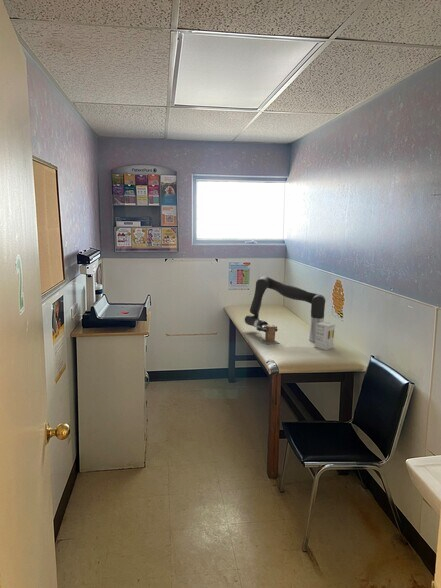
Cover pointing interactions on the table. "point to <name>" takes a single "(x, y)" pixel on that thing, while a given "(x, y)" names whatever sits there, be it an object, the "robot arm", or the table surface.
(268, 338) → the walnut block
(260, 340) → the mat
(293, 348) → the table surface
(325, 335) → the supplement box
